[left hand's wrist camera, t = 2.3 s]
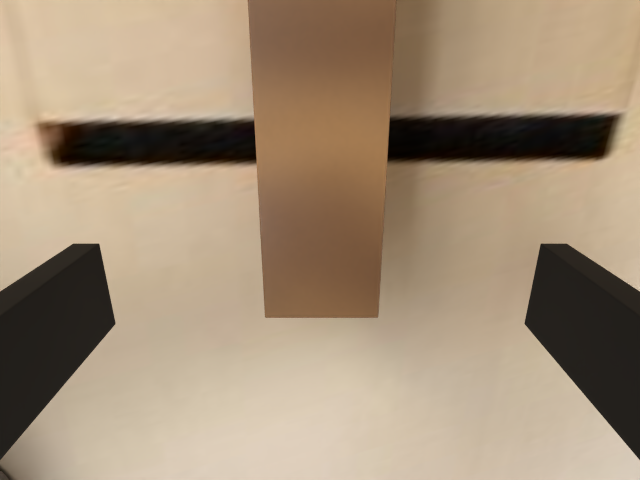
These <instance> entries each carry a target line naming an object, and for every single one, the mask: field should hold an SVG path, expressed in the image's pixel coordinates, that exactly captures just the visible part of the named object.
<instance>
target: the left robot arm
mask: <svg viewBox="0 0 640 480" xmlns="http://www.w3.org/2000/svg"><path fill="white" fill-rule="evenodd" d="M114 325H115V319H114V314H113V309H112V304H111V299H110V295H109V290H108V285H107V280H106V275H105V270H104V265H103V260H102V255H101V250H100V245H99V244H72V245H71V246H69V247H68V248H66V249H65V250H63V251H62V252H60V253H59V254H57V255H55V256H54V257H52V258H51V259H49V260H48V261H46V262H45V263H43V264H42V265H40V266H39V267H37V268H36V269H34V270H33V271H31V272H30V273H28V274H26V275H25V276H23V277H22V278H20V279H19V280H17V281H16V282H14V283H13V284H11V285H10V286H8V287H7V288H5V289H4V290H2V291H0V460H1V458H2V457H3V456H4V455H5V454H6V452H7V451H8V450H9V449H10V448H11V447H12V445H13V444H14V443H15V442H16V441H17V439H18V438H19V437H20V436H21V435H22V434H23V432H24V431H25V430H26V429H27V428H28V426H29V425H30V424H31V423H32V422H33V421H34V419H35V418H36V417H37V416H38V415H39V413H40V412H41V411H42V410H43V409H44V408H45V406H46V405H47V404H48V403H49V402H50V401H51V399H52V398H53V397H54V396H55V395H56V393H57V392H58V391H59V390H60V389H61V388H62V386H63V385H64V384H65V383H66V382H67V380H68V379H69V378H70V377H71V376H72V375H73V373H74V372H75V371H76V370H77V369H78V367H79V366H80V365H81V364H82V363H83V362H84V360H85V359H86V358H87V357H88V356H89V354H90V353H91V352H92V351H93V350H94V349H95V347H96V346H97V345H98V344H99V343H100V341H101V340H102V339H103V338H104V337H105V336H106V334H107V333H108V332H109V331H110V330H111V328H112V327H113V326H114ZM525 325H526V326H527V327H528V328H529V330H530V331H531V332H532V333H533V334H534V336H535V337H536V338H537V339H538V340H539V341H540V343H541V344H542V345H543V346H544V347H545V349H546V350H547V351H548V352H549V353H550V354H551V356H552V357H553V358H554V359H555V360H556V362H557V363H558V364H559V365H560V366H561V367H562V369H563V370H564V371H565V372H566V373H567V375H568V376H569V377H570V378H571V379H572V380H573V382H574V383H575V384H576V385H577V386H578V388H579V389H580V390H581V391H582V392H583V393H584V395H585V396H586V397H587V398H588V399H589V401H590V402H591V403H592V404H593V405H594V406H595V408H596V409H597V410H598V411H599V412H600V413H601V415H602V416H603V417H604V418H605V419H606V421H607V422H608V423H609V424H610V425H611V426H612V428H613V429H614V430H615V431H616V432H617V434H618V435H619V436H620V437H621V438H622V439H623V441H624V442H625V443H626V444H627V445H628V447H629V448H630V449H631V450H632V451H633V452H634V454H635V455H636V456H637V457H638V458H639V460H640V291H638V290H636V289H635V288H633V287H632V286H630V285H629V284H627V283H626V282H624V281H623V280H621V279H620V278H618V277H617V276H615V275H614V274H612V273H610V272H609V271H607V270H606V269H604V268H603V267H601V266H600V265H598V264H597V263H595V262H594V261H592V260H591V259H589V258H588V257H586V256H585V255H583V254H581V253H580V252H578V251H577V250H575V249H574V248H572V247H571V246H569V245H568V244H541V245H540V250H539V255H538V260H537V265H536V270H535V275H534V280H533V285H532V290H531V294H530V299H529V304H528V309H527V314H526V319H525ZM0 480H9V479H8V478H7V477H6V476H5V474H3V473H2V472H1V471H0Z"/></svg>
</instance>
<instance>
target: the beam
mask: <svg viewBox="0 0 640 480" xmlns="http://www.w3.org/2000/svg"><path fill="white" fill-rule="evenodd" d="M248 11H249V29H250V48H251V66H252V85H253V103H254V122H255V140H256V158H257V177H258V195H259V214H260V232H261V250H262V269H263V287H264V306H265V317H266V318H377V317H378V312H379V295H380V277H381V260H382V243H383V225H384V208H385V191H386V173H387V156H388V139H389V121H390V104H391V87H392V69H393V52H394V35H395V17H396V0H248Z"/></svg>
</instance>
